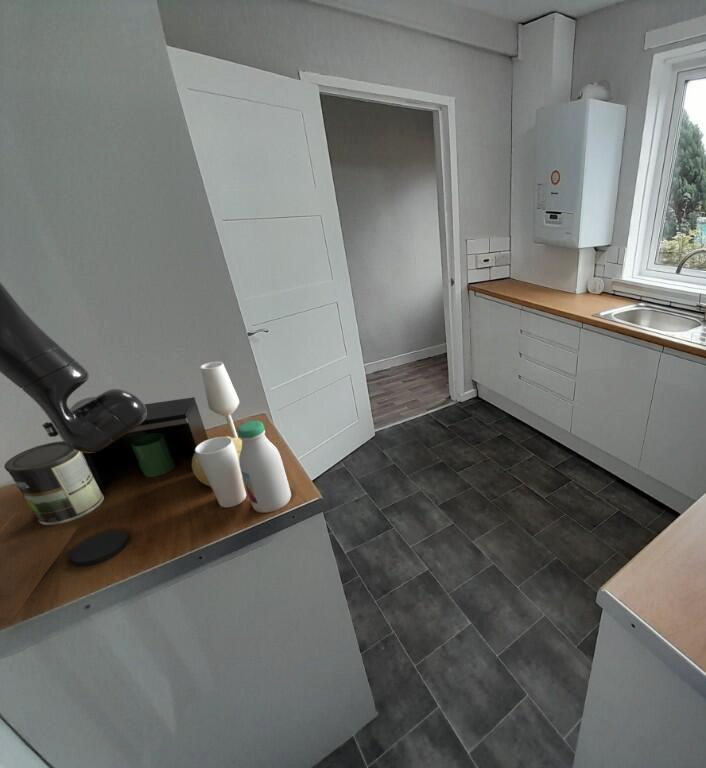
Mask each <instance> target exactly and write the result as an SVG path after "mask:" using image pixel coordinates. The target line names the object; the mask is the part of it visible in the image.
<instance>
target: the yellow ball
mask: <svg viewBox="0 0 706 768" xmlns="http://www.w3.org/2000/svg"><path fill="white" fill-rule="evenodd" d="M225 437H229V438H231V439H232V441H233V443H234V446H235V448H236V451H237V455H238V459H239V457H240V453H241V449H242V440H241V439H240V438H239V437H238V438H233V437H232V436H228V435H227V436H225ZM191 469H192V472H193V475H194V476H195V477H196V479H197V480H198V481H199V482H200V483H202V484H204V485H205V486H208V487H211V486H210V484H209V483H208V481H207V479H206V477H205V475H204V473H203V471H202V469H201V467H200V465H199V462H198V459H197V456H196V453H195V454H193V456H192V458H191ZM242 478H243V476H242Z"/></svg>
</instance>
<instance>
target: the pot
mask: <svg viewBox="0 0 706 768" xmlns="http://www.w3.org/2000/svg"><path fill="white" fill-rule="evenodd" d="M131 446H132V448H133V451H134V453H135V455H136V458H137V460H138V463H139V464H138V465H139V467H140V470H141V472H142V475H143V476H144V477H145V478H146V477H147V478H154V477H159V476H161V475H165V474H167V473H169V472H170V471H172V470H173V469H174V468H175V466H176V462H175V460H174V458H173V457H172V454H171V452H170V449H169V446H168V444H167V441H166V438H165V436H164V434H162V433H152V434H147V435H143V436H141V437H138V438H136V439H135V440H133V441H132V442H131Z"/></svg>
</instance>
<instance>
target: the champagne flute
mask: <svg viewBox="0 0 706 768" xmlns="http://www.w3.org/2000/svg"><path fill="white" fill-rule="evenodd" d="M199 368H200V371H201V378H202V382H203V386H204V391H205V395H206V401H207V404H208V405H207V406H208V408H209V410H210V411H211V412H213V413H215V414H217V415H220V416H222V417H223V416H224V417H225V419H226V421H227V422H226V423H227V425H228V428H229V431H230V434H231V437H232V438H239V435H238V432H237V431H236V427H235V423H234V421H233V418H232V414H233V413H234V412H235V411H236V410H237V409H238V407H239V406H240V399H239V396H238V394H237V391H236V389H235V387H234V385H233V383H232V381H231V378H230V375H229V374H228V371H227V369H226V366H225V365H224V362H223V361H211V362H206V363H203V364H202V365H200V367H199Z"/></svg>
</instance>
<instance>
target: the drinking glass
mask: <svg viewBox="0 0 706 768" xmlns="http://www.w3.org/2000/svg"><path fill="white" fill-rule="evenodd" d="M229 437H230V436H228V437H226V436H218V437H217V436H216V437H213V438H208V440H206V441H204V442H202V443H200V444H199V445H198V446H197V447H196V448H195V453H196V456H197V459H198V462H199V465H200V467H201V469H202V471H203V473H204V475H205V477H206V479H207V481H208V483H209V484H210V486H209V487H210V488H211V490H212V492H213V494H214V496H215V498H216V500H217V503H218V505H219V506H220V507H221V508H233V507H236V506H239V505H240V504H241V503H243V502H244V501H245V500H246V498H247V490H246V487H245V482H244V479H243V478H242V473H241V469H240V464H239V459H238V455H237V451H236V448H235V446H234V443H233V441H232V439H231V438H229Z"/></svg>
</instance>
